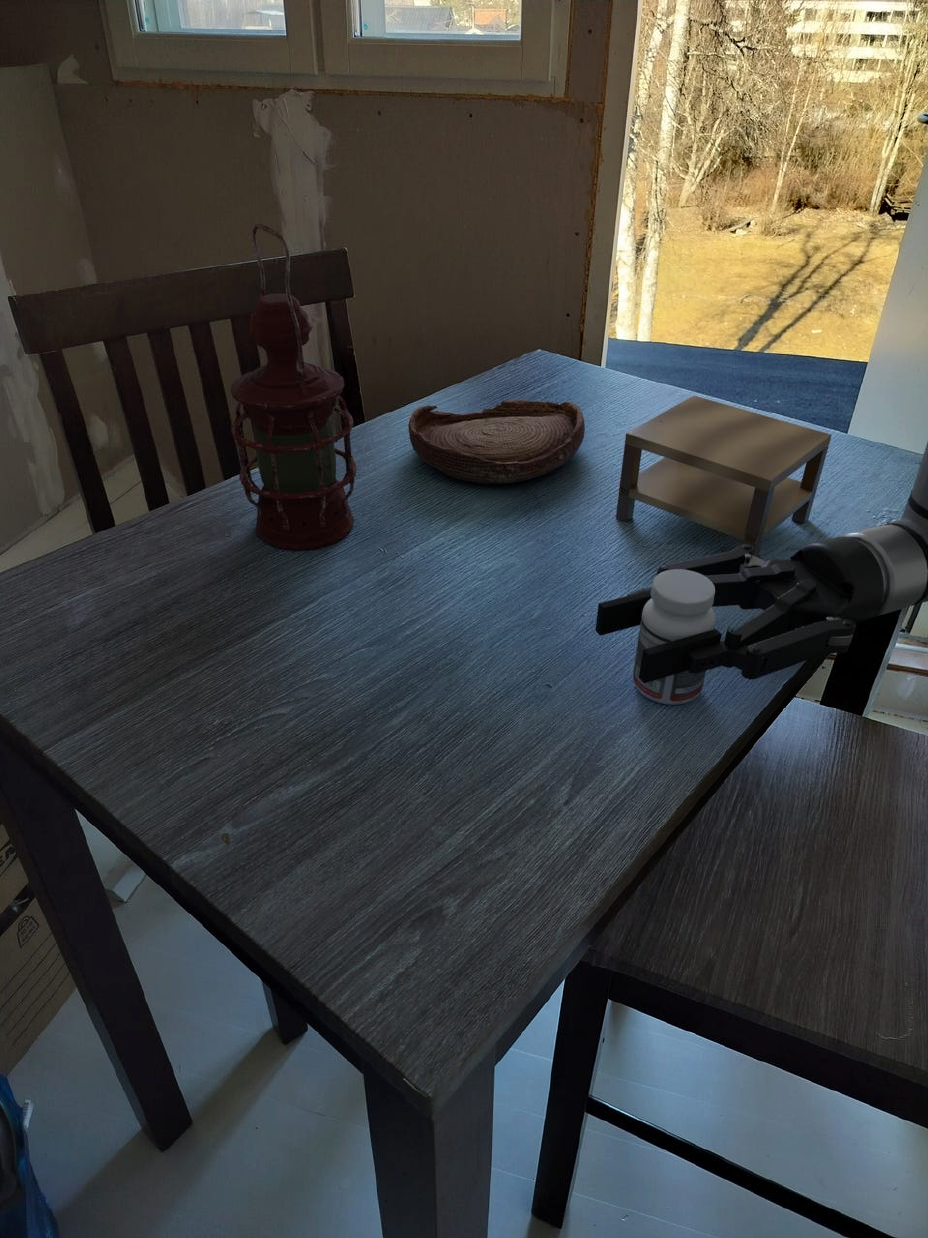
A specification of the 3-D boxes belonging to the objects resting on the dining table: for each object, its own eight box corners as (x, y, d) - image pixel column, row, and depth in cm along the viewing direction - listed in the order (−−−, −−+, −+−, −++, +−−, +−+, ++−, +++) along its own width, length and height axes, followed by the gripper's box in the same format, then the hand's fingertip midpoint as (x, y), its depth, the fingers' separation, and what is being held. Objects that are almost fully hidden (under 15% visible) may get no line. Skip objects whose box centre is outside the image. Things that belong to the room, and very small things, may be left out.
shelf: (808, 519, 94) (832, 434, 88) (749, 570, 85) (771, 480, 79) (680, 475, 102) (693, 395, 96) (615, 518, 94) (625, 432, 88)
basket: (526, 408, 118) (528, 373, 116) (620, 462, 105) (625, 425, 102) (382, 444, 109) (380, 407, 106) (465, 509, 95) (465, 469, 92)
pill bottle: (699, 667, 73) (721, 569, 67) (703, 711, 68) (726, 610, 62) (631, 659, 73) (646, 562, 67) (631, 703, 69) (647, 602, 63)
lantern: (381, 533, 91) (362, 231, 73) (275, 568, 85) (226, 249, 68) (330, 489, 99) (301, 207, 81) (230, 517, 93) (176, 222, 76)
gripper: (925, 676, 68) (684, 757, 61) (771, 561, 82) (559, 616, 75) (958, 599, 64) (701, 677, 56) (789, 491, 78) (565, 542, 70)
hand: (621, 642), depth 65 cm, fingers closed on pill bottle, 6 cm apart
